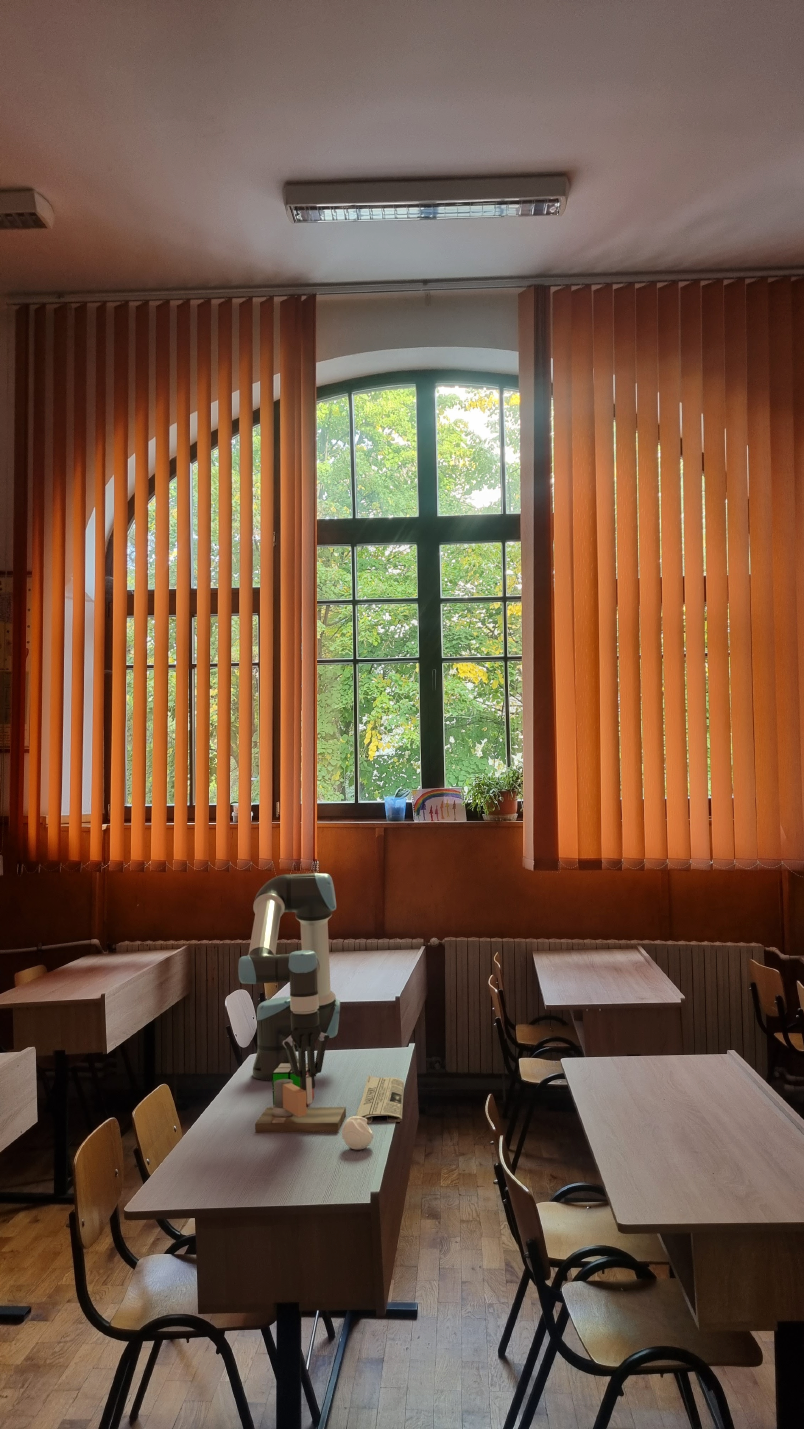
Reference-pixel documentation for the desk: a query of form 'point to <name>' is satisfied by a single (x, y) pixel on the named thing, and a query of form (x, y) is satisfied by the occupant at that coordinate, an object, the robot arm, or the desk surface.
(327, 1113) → the plate
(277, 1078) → the puzzle cube
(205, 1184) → the desk surface
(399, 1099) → the newspaper
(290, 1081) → the lever
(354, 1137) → the baseball
